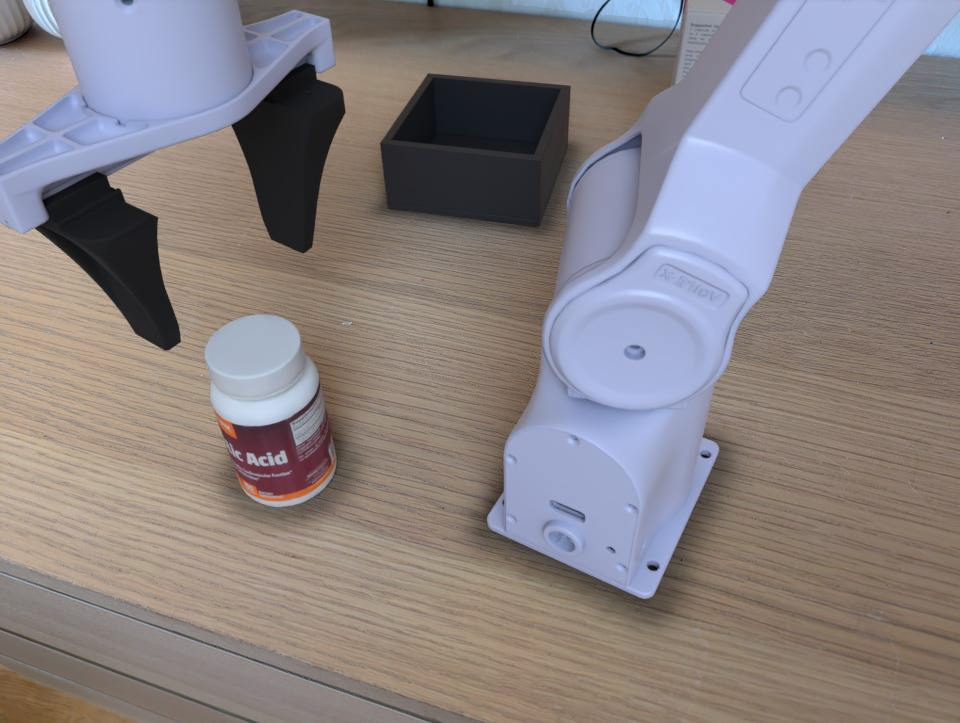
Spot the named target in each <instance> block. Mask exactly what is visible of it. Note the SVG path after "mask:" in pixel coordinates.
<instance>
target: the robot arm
mask: <svg viewBox="0 0 960 723" xmlns="http://www.w3.org/2000/svg"><path fill="white" fill-rule="evenodd" d="M48 3H49V7H50V9H51V12H52V15H53V17H54V19H55V20H54V21H55V22H56V25H57V29H58V31H59V33H60V36H61V39H62V41H63V45H64V47H65V49H66V53H67V55H68V58H69V60H70V63H71V66H72V69H73V71H74V74H75V77H76V80H77V83H78V84H77V85H76V86H74V87H73V88H71V89H70V90H69V91H68V92H66V93H64V95H62V96H60V98H58V99H57V100H55V101H54V102H52V103H51V104H50V105H49V106H47V107H46V108H44V109H43V110H42V111H41V112H39V113H37V115H35V116H34V117H32V118H30V119H29V120H28V121H27V122H25V123H24V124H23V125H21V126H20V127H19V128H17V129H16V130H14V131H13V132H12V133H10V134H9V135H8V136H6V137H4V138H3V139H2V140H0V224H1V225H3V226H5V227H7V228H8V229H11V230H13V231H15V232H17V233H19V234H22V235H25V234H27V233H29V232H30V231H32V230H35V231H37V232H38V233H39V234H41V235H42V236H44V237H45V238H46V239H47V240H49V241H50V242H51V243H52V244H54V246H56V248H58V249H60V251H62V252H63V253H64V254H65V255H66V256H68V257H69V258H70V259H71V260H72V261H73V262H74V263H75V264H77V266H78V267H79V268H80V269H82V271H83V272H85V274H87V275H88V276H89V277H90V278H91V280H93V281H94V283H96V285H98V286H99V288H100V289H101V290H102V291H103V292H104V293H105V295H106V296H107V297H108V298H109V299H110V300H111V301H112V303H113V304H114V306H115V307H116V308H117V309H118V311H119V312H120V313H121V314H122V316H123V317H124V319H125V321H126V322H127V323H128V325H129V326H130V327H131V329H132V331H133V332H134V334H135V335H136V336H138V337H140V338H142V339H143V340H145V341H147V342H148V343H150V344H153V345H154V346H156V347H158V348H159V349H161V350H163V351H164V352H166V351H167V352H168V351H171V350H172V349H173V348H175V347H177V346H178V345H179V344H180V343H182V338H181V329H180V324H179V322H178V319H177V316H176V313H175V310H174V308H173V305H172V302H171V299H170V297H169V294H168V292H167V288H166V286H165V282H164V277H163V273H162V272H163V271H162V267H161V260H160V254H159V240H158V231H159V230H158V229H159V217H158V216H156V215H155V214H153V213H150V212H148V211H145V210H143V209H142V208H140V207H137V206H135V205H133V204H131V203H129V202H127V201H126V199H125V196H124V193H123V191H122V189H121V188H119V187H117V188H114V187H113V186H111V184H110V181H109V178H108V177H109V176H111V175H114V174H115V173H117V172H119V171H121V170H123V169H124V168H126V167H128V166H131V165H132V164H134V163H136V162H137V161H139V160H142V159H143V158H145V157H147V156H149V155H151V154H152V153H155V152H156V151H160V150H164V149H166V148H169V147H173V146H175V145H178V144H179V145H180V144H182V143H185V142H188V141H189V142H190V141H191V140H195V139H198V138H200V137H204V136H208V135H210V134H213V133H216V132H219V131H221V130H224V129H226V128H228V127H230V126H231V128H232V131H233V132H234V134H235V138H236V140H237V141H238V144H239V146H240V149H241V151H242V154H243V157H244V159H245V161H246V164H247V167H248V170H249V173H250V177H251V180H252V184H253V188H254V192H255V196H256V202H257V204H258V207H259V211H260V215H261V218H262V221H263V224H264V227H265V229H266V232H267V233H268V235H269V236H268V237H269V238H270V240H271V241H273V242H275V243H278V244H279V245H282V246H285V247H287V248H289V249H291V250H293V251H296V252H298V253H300V254H302V255H304V254H305V253H307V252H308V251H310V250H311V249H312V248H313V247H314V246H313V245H314V237H315V229H316V220H317V219H316V218H317V217H316V216H317V211H318V210H317V209H318V202H319V196H320V188H321V183H322V177H323V174H324V170H325V164H326V161H327V158H328V155H329V152H330V149H331V145H332V143H333V141H334V138H335V135H336V133H337V130H338V129H339V127H340V125H341V122H342V120H343V119H344V117H345V114H346V113H347V112H346V104H345V96H344V91H343V89H342V88H340V87H339V86H338V85H335V84H333V83H330V82H327V81H324V80H321V79H318V77H317V74H321V73H324V72H326V71H328V70H330V69H331V68H333V67H335V66H336V65H337V63H336V62H337V61H336V56H335V55H336V54H335V47H334V40H333V35H332V34H333V32H332V27H331V20H330V19H329V18H327V17H324V16H320V15H316V14H313V13H310V12H306V11H302V10H298V9H295V8H294V9H292V10H288V11H286V12H284V13H282V14H279V15H276V16H273V17H270V18H268V19H267V18H266V19H264V20H260V21H257V22H253V23H249V24H246V25H243V20H242V15H241V9H240V7H239V1H238V0H48ZM959 12H960V0H736V2H735V3H734V5H733V6H732V8H731V9H730V11H729V12H728V14H727V15H726V17H725V18H724V20H723V21H722V23H721V24H720V26H719V27H718V29H717V30H716V32H715V33H714V35H713V36H712V38H711V39H710V41H709V42H708V44H707V45H706V47H705V48H704V50H703V51H702V53H701V54H700V56H699V57H698V59H697V60H696V61H695V63H694V64H693V66H692V67H691V69H690V70H689V72H688V73H687V75H686V76H685V78H684V79H683V80H682V81H680V82H679V83H677V84H676V85H674V86H672V87H670V86H669V87H668V88H666V89H664V90H662V91H661V92H658V93H657V94H655V95H653V97H652V98H651V99H650V101H649V102H648V103H647V105H646V107H645V108H644V110H643V112H642V113H641V115H640V116H639V117H638V119H637V120H636V121H635V122H634V123H633V125H631V127H630V128H628V130H626V131H625V132H624V133H622V134H621V135H620V136H619V137H617V138H616V139H613V140H612V141H610V142H608V143H607V144H605V145H603V146H601V147H600V148H598V149H597V150H595V151H594V152H592V153H591V154H590V155H588V156H587V158H586V159H585V160H584V161H583V162H582V164H581V165H580V166H579V167H578V169H577V170H576V172H575V174H574V175H573V177H572V179H571V182H570V184H569V187H568V191H567V192H568V193H567V197H566V202H565V203H566V204H565V206H566V213H567V219H566V223H565V230H564V236H563V242H562V246H561V252H560V258H559V264H558V269H557V275H556V280H555V286H554V291H553V296H552V300H551V301H550V302H549V306H548V307H547V308H546V310H545V313H544V315H543V318H542V323H541V338H540V339H541V340H540V341H541V342H540V359H539V370H538V374H537V380H536V384H535V387H534V389H533V392H532V395H531V397H530V400H529V402H528V404H527V406H526V407H525V409H524V410H523V412H522V414H521V416H520V417H519V419H518V421H517V422H516V423H515V425H514V427H513V428H512V429H511V431H510V433H509V434H508V436H507V439H506V441H505V443H504V448H503V492H502V493H501V494H500V496H499V497H498V499H497V500H496V502H495V503H494V505H493V506H492V508H491V509H490V511H489V512H488V513H487V516H486V523H487V524H486V525H487V527H488V529H489V530H491V531H493V532H494V533H496V534H499V535H501V536H503V537H505V538H507V539H510V540H512V541H514V542H516V543H518V544H521V545H523V546H524V547H528V548H530V549H531V550H534V551H536V552H538V553H539V554H542V555H545V556H546V557H550V558H551V559H553V560H556V561H558V562H561V563H563V564H565V565H567V566H569V567H571V568H573V569H576V570H578V571H580V572H582V573H584V574H587V575H588V576H591V577H593V578H596V579H598V580H599V581H602V582H604V583H607V584H609V585H611V586H613V587H615V588H617V589H619V590H622V591H624V592H626V593H628V594H631V595H633V596H635V597H637V598H639V599H643V600H645V599H646V600H647V599H650V598H652V597H653V596H654V595H655V593H656V592H657V589H658V587H659V586H660V583H661V581H662V579H663V576H664V574H665V572H666V570H667V568H668V566H669V564H670V561H671V559H672V557H673V555H674V553H675V550H676V548H677V546H678V543H679V541H680V540H681V537H682V535H683V532H684V530H685V528H686V526H687V524H688V522H689V520H690V517H691V515H692V513H693V511H694V508H695V506H696V505H697V502H698V500H699V499H700V495H701V493H702V491H703V489H704V487H705V484H706V482H707V481H708V478H709V477H710V474H711V472H712V469H713V467H714V464H715V463H716V460H717V458H718V456H719V453H720V446H719V444H718V443H717V442H716V441H714V440H711V439H709V438H706V437H704V433H705V429H706V426H707V425H706V424H707V420H708V417H709V413H710V408H711V405H712V400H713V396H714V392H715V387H716V383H717V382H718V380H719V379H720V378H721V377H722V375H723V374H724V372H725V371H726V369H727V367H728V365H729V362H730V361H731V357H732V354H733V348H734V343H735V337H736V333H737V331H738V329H739V327H740V325H741V322H742V320H743V319H744V318H745V316H746V315H747V314H748V313H749V312H750V310H751V309H752V308H753V307H754V306H755V304H756V303H758V301H759V300H761V298H762V297H763V296H764V295H765V294H766V293H767V291H768V289H769V288H770V285H771V283H772V280H773V277H774V275H775V272H776V270H777V266H778V264H779V260H780V257H781V254H782V251H783V248H784V244H785V242H786V239H787V236H788V234H789V233H788V232H789V230H790V226H791V223H792V220H793V216H794V214H795V210H796V207H797V204H798V202H799V200H800V197H801V194H802V192H803V191H804V188H805V187H806V186H807V185H808V184H809V183H810V181H811V180H812V179H813V178H814V177H815V175H816V174H817V173H818V172H819V171H820V170H821V169H822V168H823V167H824V166H825V164H826V163H827V162H828V161H829V159H830V158H832V156H833V155H834V154H835V153H836V152H837V151H838V150H839V148H840V147H842V145H843V144H844V143H845V142H846V140H847V139H848V138H849V137H850V136H851V135H852V134H853V133H854V131H856V129H857V128H858V127H859V126H860V124H861V123H863V121H864V120H866V118H867V117H868V115H869V114H870V113H871V112H872V111H873V110H874V109H875V108H876V107H877V105H878V104H879V103H880V102H881V101H882V100H883V98H885V96H886V95H887V94H888V93H889V92H890V91H891V89H892V88H893V87H895V85H896V84H897V83H898V82H899V80H900V79H901V78H902V77H903V76H904V75H905V74H906V73H907V71H908V70H909V69H910V68H911V67H912V66H913V65H914V63H916V61H917V60H918V59H919V58H920V57H921V56H922V55H923V53H924V52H925V51H927V49H928V48H929V46H930V45H932V43H933V42H934V41H935V40H936V39H937V38H938V36H940V34H941V33H942V32H943V31H944V29H945V28H946V27H947V26H948V25H949V24H950V23H951V22H952V20H954V18H955V17H956V16H957V15H958V14H959ZM704 456H706V457H704ZM650 566H654V567H655V568H656V569H657V570H652V569H650V568H649V567H650Z"/></svg>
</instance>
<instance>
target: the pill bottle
mask: <svg viewBox="0 0 960 723" xmlns="http://www.w3.org/2000/svg"><path fill="white" fill-rule="evenodd" d="M204 360H205V364H206V366H207V371H208V374H209V378H210V380H211V382H210V386H209V402H210V404H211V407H212V410H213V413H214V416H215V419H216V421H217V424H218V427H219V428H220V431H221V435H222V438H223V440H224V444H225V447H226V449H227V452H228V454H229V458H230V460H231V462H232V465H233V468H234V471H235V473H236V476H237V479H238V481H239V484H240V487H241V489H242V490H243V491H244V493H245V494H246V495H247V496H248V497H249V498H251V499H252V500H254V501H256V503H257V502H258V503H259V504H261V505H265V506H268V507H275V508H283V507H292V506H295V505H296V506H297V505H300V504H302V503H305V502H307V501H308V500H311V499H312V498H314V497H315V496H317V495H319V493H321V491H323V490H325V488H326V487H327V486H328V484H329V483H330V482H331V480H332V479H333V478H334V476H335V473H336V469H337V463H338V462H337V453H336V448H335V443H334V439H333V434H332V429H331V425H330V420H329V415H328V411H327V407H326V401H325V398H324V391H323V388H322V383H321V382H322V381H321V378H320V373H319V369H318V367H317V365H316V363H315V362H314V361H313V359H311V357H310V356H309V355H308V354H307V353H306V350H305V346H304V343H303V339H302V336H301V333H300V330H299V329H298V327H297V326H296V325H295V324H294V323H293V322H292V321H291V320H289V319H287V318H285V317H282V316H279V315H277V314H276V315H275V314H269V313H257V314H249V315H245V316H241V317H238V318H236V319H233V320H231V321H229V322H226V323H225V324H223V325H222V326H220V327H219V328H218V329H217V330H215V331H214V332H213V333H212V334H211V336H210V337H209V339H208V341H207V342H206V345H205V347H204Z"/></svg>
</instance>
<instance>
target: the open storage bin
mask: <svg viewBox="0 0 960 723" xmlns="http://www.w3.org/2000/svg"><path fill="white" fill-rule="evenodd" d="M571 89H572V85H568V84H557V83H545V82H535V81H524V80H523V81H522V80H513V79H512V80H511V79H501V78H500V79H498V78H488V77H477V76H476V77H475V76H466V75H465V76H464V75H455V74H442V73H430V72H428V73H426V75H425V77H424V79H423V80H422V82H421V83H420V84H419V86H418V87H417V89H416V90H415V92H414V93H413V95H411V97H410V99H409V100H408V102H407V104H405V106H404V108H403V109H402V111H401V112H400V114H399V115H398V116H397V117H396V120H395V121H394V122H393V124H392V125H391V127H390V128H389V129H388V131H387V132H386V133H385V135H384V136H383V138H382V139H381V141H380V142H379V147H380V148H379V149H380V155H381V164H382V172H383V179H384V180H383V181H384V188H385V197H386V204H387V205H386V206H387V209H390V210H397V211H405V212H413V213H421V214H429V215H439V216H447V217H454V218H463V219H471V220H477V221H478V220H479V221H487V222H496V223H504V224H511V225H518V226H519V225H520V226H528V227H536V228H540V226H541V224H542V221H543V218H544V215H545V212H546V210H547V207H548V205H549V201H550V199H551V196H552V193H553V190H554V188H555V184H556V182H557V179H558V176H559V174H560V170H561V168H562V165H563V162H564V159H565V156H566V153H567V152H568V148H569V129H570V128H569V127H570V111H571V110H570V106H571Z"/></svg>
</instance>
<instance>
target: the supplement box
mask: <svg viewBox="0 0 960 723" xmlns="http://www.w3.org/2000/svg"><path fill="white" fill-rule="evenodd" d="M735 2H736V0H684V1H683V8H682V14H681V20H680V26H679V33H678V38H677V43H676V44H677V45H676V51H675V57H674V61H673V62H674V64H673V69H672V74H671V80H670V86H669V88H670V87H672V86H674V85H676V84H677V83H679V82H680V81H682V80H683V79H684V78H685V76H686V75H687V73H688V72H689V70H690V69H691V67H692V66H693V64H694V63H695V61H696V60H697V59H698V57H699V56H700V54H701V53H702V51H703V50H704V48H705V47H706V45H707V44H708V42H709V41H710V39H711V38H712V36H713V35H714V33H715V32H716V30H717V29H718V27H719V26H720V24H721V23H722V21H723V20H724V18H725V17H726V15H727V14H728V12H729V11H730V9H731V8H732V6H733V5H734V3H735Z"/></svg>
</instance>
